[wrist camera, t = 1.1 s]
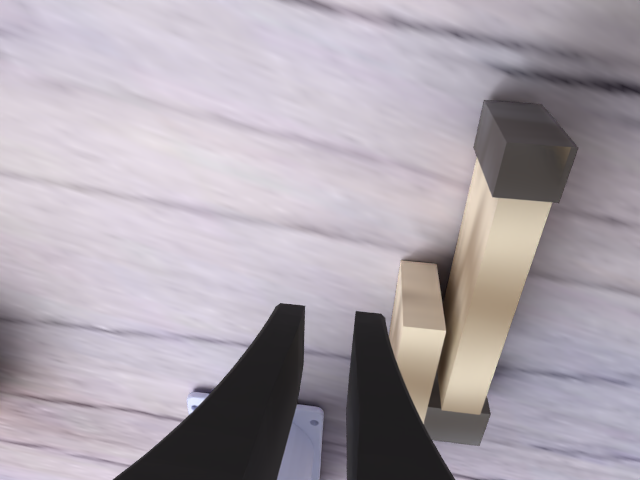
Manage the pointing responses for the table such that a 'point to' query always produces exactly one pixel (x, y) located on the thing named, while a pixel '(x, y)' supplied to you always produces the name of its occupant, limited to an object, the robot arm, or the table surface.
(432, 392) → the tong pivot
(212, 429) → the robot arm
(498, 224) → the bar
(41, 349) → the table surface
